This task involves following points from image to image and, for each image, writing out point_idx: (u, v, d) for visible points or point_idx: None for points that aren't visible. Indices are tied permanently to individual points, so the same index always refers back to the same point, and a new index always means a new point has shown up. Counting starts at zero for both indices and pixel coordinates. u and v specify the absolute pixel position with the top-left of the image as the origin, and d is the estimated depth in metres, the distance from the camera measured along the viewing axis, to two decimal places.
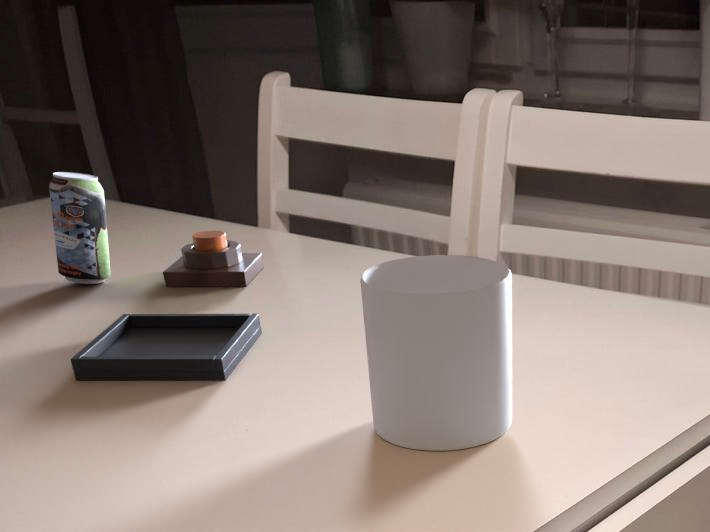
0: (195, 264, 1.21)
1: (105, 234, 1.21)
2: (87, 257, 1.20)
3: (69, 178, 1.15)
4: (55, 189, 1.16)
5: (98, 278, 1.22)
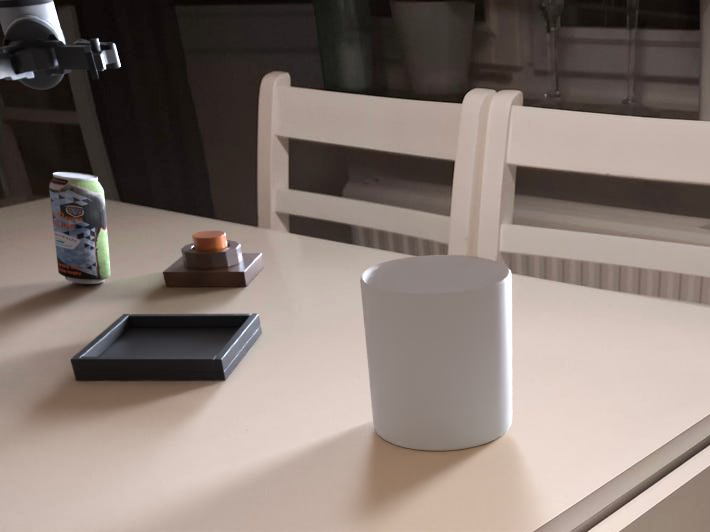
0: (195, 264, 1.21)
1: (105, 234, 1.21)
2: (87, 257, 1.20)
3: (69, 178, 1.15)
4: (55, 189, 1.16)
5: (98, 278, 1.22)
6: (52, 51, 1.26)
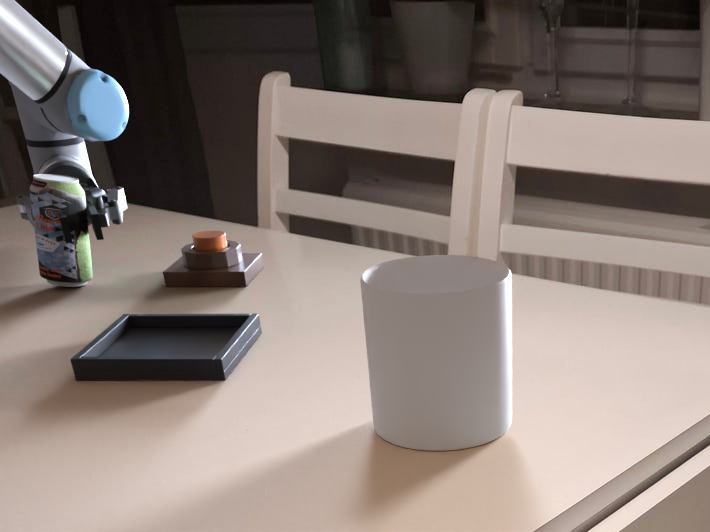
0: (195, 264, 1.21)
1: (86, 237, 1.20)
2: (67, 260, 1.19)
3: (48, 180, 1.15)
4: (35, 191, 1.15)
5: (78, 281, 1.21)
6: (92, 196, 1.27)
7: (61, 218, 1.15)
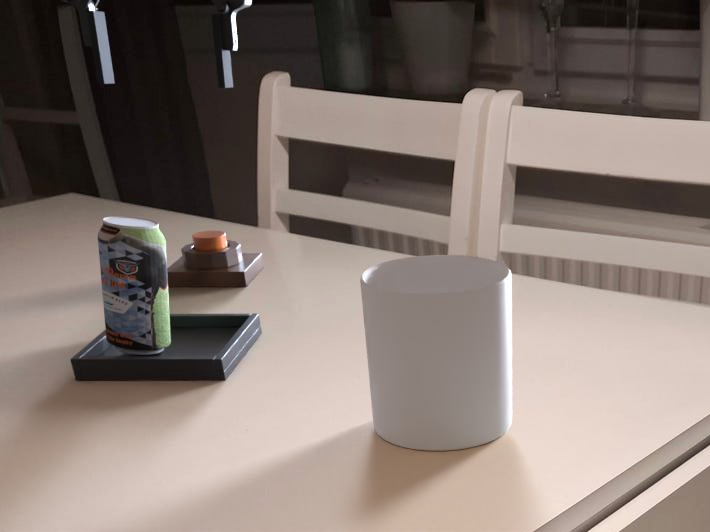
0: (195, 264, 1.21)
1: (165, 294, 0.96)
2: (141, 323, 0.95)
3: (121, 226, 0.91)
4: (104, 239, 0.92)
5: (153, 348, 0.97)
6: None
7: (99, 83, 1.10)
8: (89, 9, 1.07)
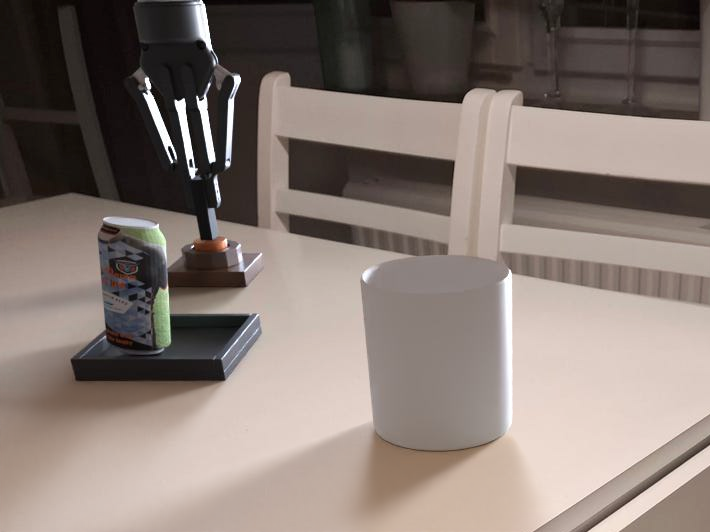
0: (195, 264, 1.21)
1: (165, 294, 0.96)
2: (141, 323, 0.95)
3: (121, 226, 0.91)
4: (104, 239, 0.92)
5: (153, 348, 0.97)
6: (203, 92, 1.12)
7: None
8: (191, 177, 1.17)
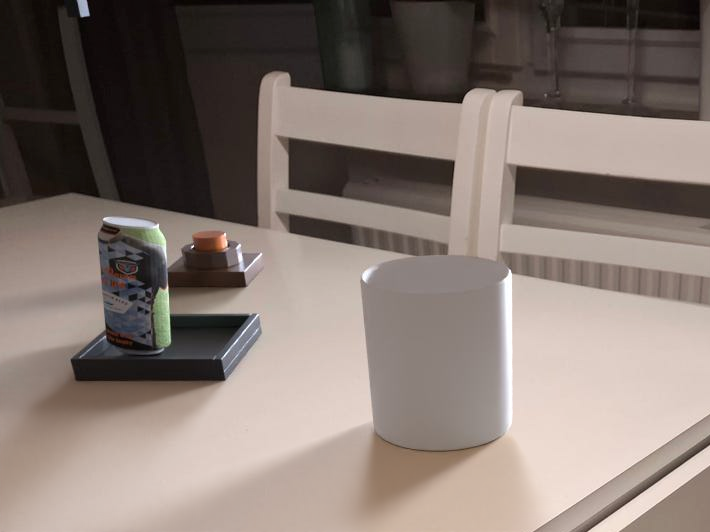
0: (195, 264, 1.21)
1: (165, 294, 0.96)
2: (141, 323, 0.95)
3: (121, 226, 0.91)
4: (104, 239, 0.92)
5: (153, 348, 0.97)
6: None
7: None
8: None
